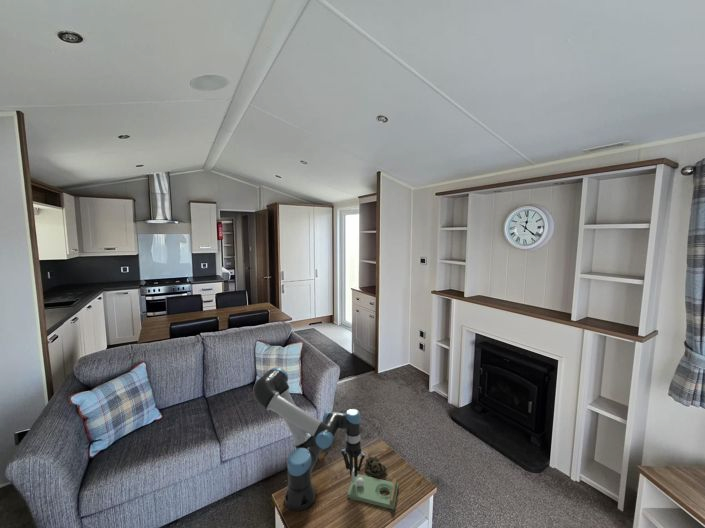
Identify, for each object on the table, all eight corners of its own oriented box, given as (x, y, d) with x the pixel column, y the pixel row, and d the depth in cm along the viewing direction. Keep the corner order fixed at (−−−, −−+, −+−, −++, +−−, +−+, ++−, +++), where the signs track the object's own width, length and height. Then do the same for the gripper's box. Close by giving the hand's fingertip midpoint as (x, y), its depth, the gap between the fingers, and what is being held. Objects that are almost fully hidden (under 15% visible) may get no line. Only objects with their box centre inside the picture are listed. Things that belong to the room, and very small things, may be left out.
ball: (355, 487, 164) (355, 480, 163) (357, 481, 167) (357, 474, 167) (362, 489, 162) (363, 482, 162) (364, 483, 166) (364, 476, 166)
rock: (380, 485, 168) (391, 469, 173) (367, 469, 170) (379, 454, 175) (371, 481, 179) (382, 466, 184) (359, 466, 181) (371, 452, 186)
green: (347, 497, 160) (347, 489, 159) (354, 476, 173) (354, 469, 173) (394, 509, 153) (394, 501, 153) (398, 486, 166) (398, 479, 166)
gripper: (339, 442, 161) (339, 483, 164) (363, 446, 158) (363, 489, 160) (343, 433, 168) (344, 473, 171) (367, 437, 165) (367, 478, 167)
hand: (353, 481), depth 166 cm, fingers closed
